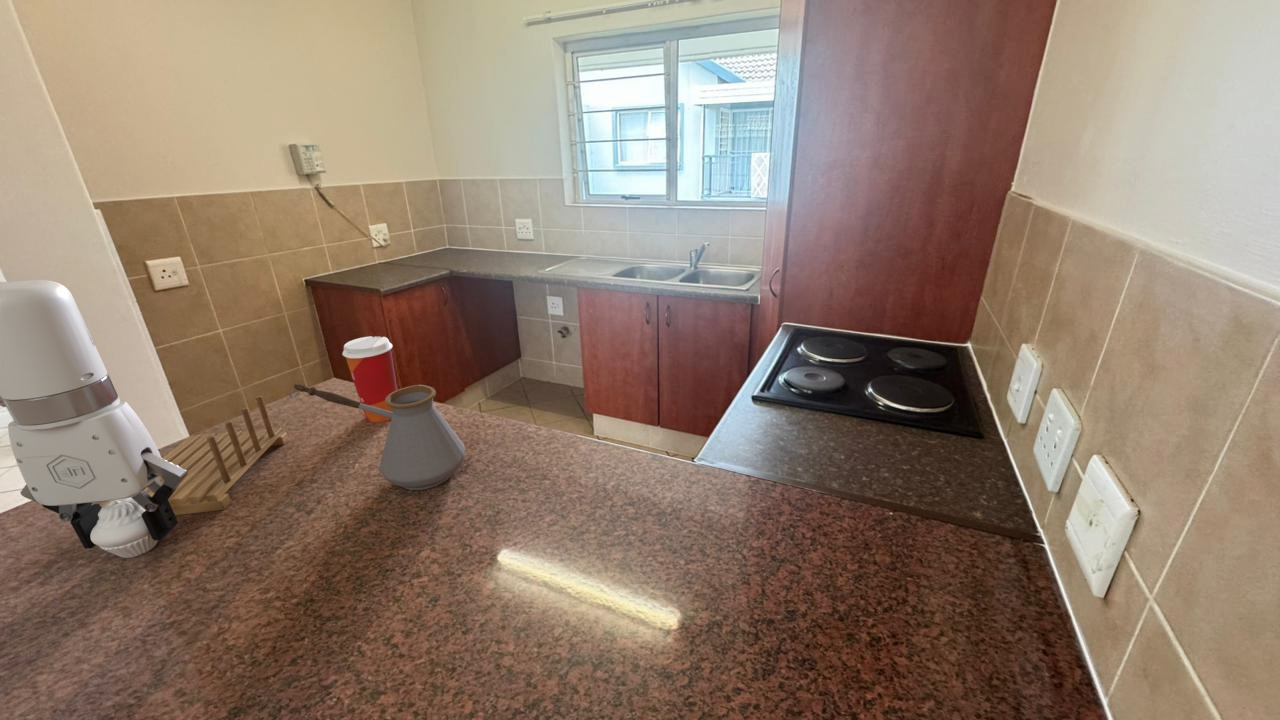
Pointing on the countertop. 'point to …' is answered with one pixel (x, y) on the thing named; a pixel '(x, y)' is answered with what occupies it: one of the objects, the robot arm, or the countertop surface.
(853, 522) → the countertop surface
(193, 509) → the rack
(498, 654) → the countertop surface
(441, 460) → the coffee pot
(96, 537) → the muffin
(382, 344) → the paper cup
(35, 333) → the robot arm
